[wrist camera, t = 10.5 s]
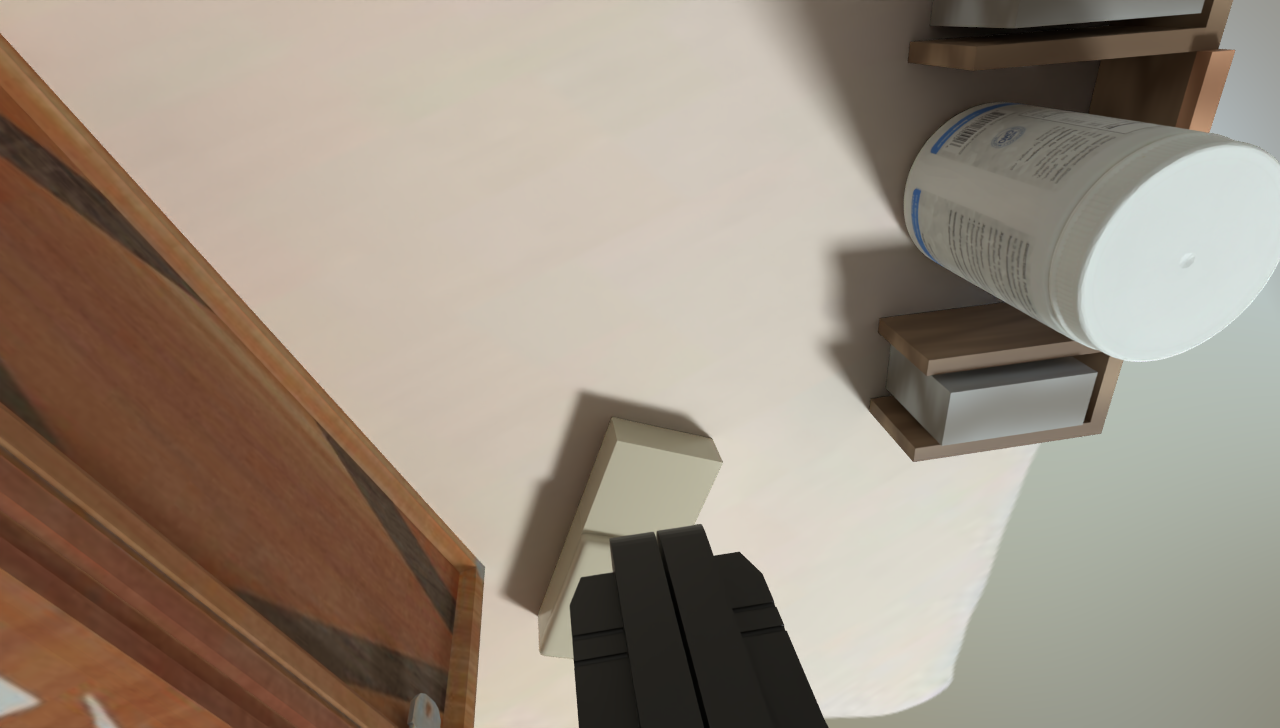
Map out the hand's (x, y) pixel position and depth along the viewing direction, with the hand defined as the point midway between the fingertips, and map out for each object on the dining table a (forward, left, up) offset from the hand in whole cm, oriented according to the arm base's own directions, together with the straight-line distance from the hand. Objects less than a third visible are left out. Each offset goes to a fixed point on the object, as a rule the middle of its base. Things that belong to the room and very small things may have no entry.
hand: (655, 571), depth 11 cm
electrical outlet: (+25, +1, -30) cm, 39 cm away
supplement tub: (+3, +24, -29) cm, 38 cm away
